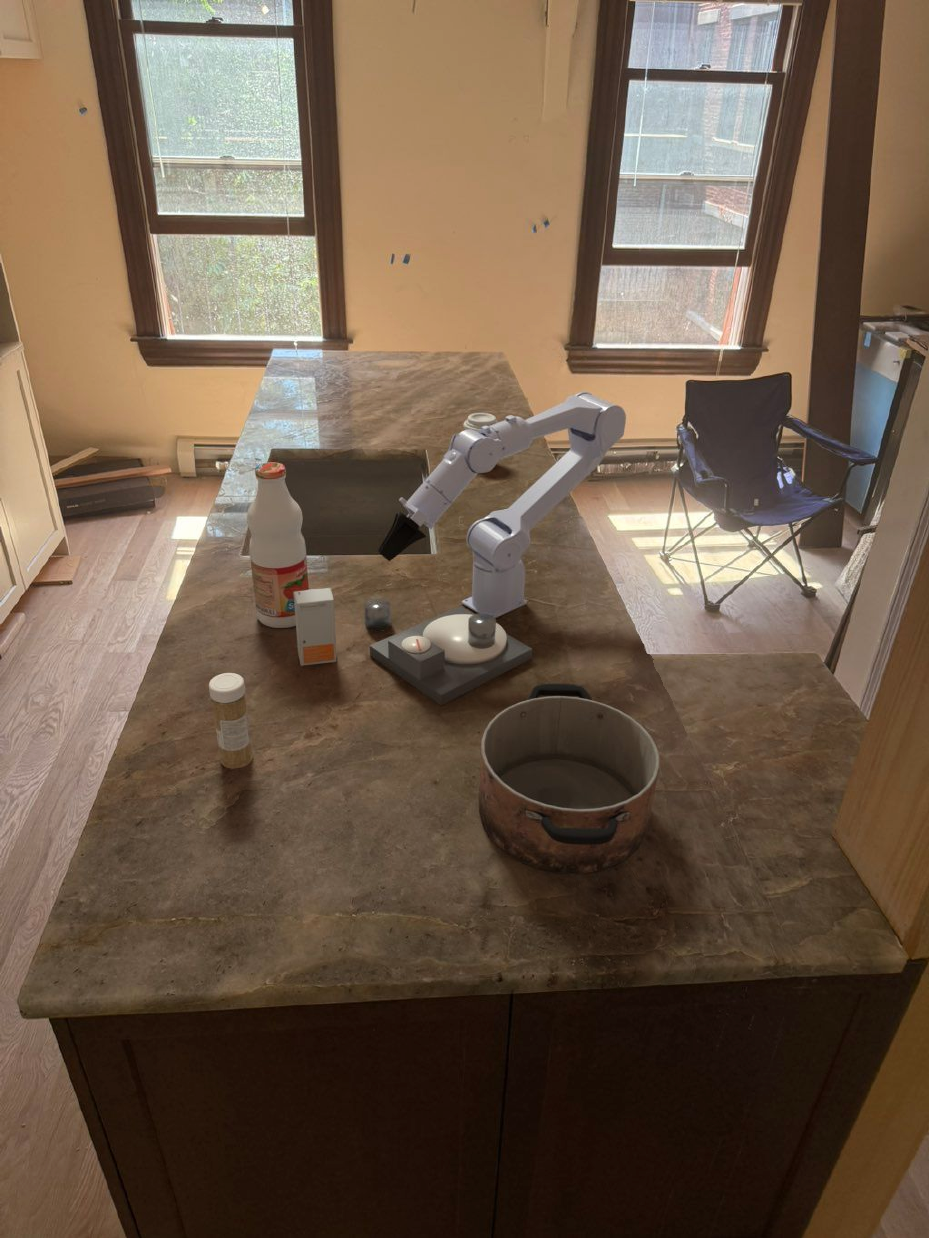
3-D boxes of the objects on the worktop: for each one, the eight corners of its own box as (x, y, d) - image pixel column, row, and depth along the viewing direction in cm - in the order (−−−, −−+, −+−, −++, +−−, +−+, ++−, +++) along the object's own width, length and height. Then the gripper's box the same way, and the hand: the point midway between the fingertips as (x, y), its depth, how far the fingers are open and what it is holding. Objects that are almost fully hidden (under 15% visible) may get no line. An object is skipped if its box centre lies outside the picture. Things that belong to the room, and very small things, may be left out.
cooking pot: (476, 737, 128) (479, 677, 123) (628, 740, 129) (637, 681, 123) (480, 900, 103) (483, 834, 97) (669, 903, 103) (683, 837, 98)
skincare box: (300, 667, 142) (295, 603, 136) (297, 653, 146) (292, 590, 139) (338, 662, 144) (334, 599, 137) (334, 648, 147) (330, 586, 141)
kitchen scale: (459, 615, 157) (460, 586, 154) (531, 658, 146) (533, 628, 143) (370, 655, 146) (369, 624, 143) (441, 705, 134) (441, 673, 131)
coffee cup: (456, 459, 223) (457, 413, 217) (488, 455, 227) (490, 409, 220) (471, 472, 216) (473, 425, 210) (504, 467, 220) (507, 420, 213)
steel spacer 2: (481, 631, 148) (482, 610, 145) (500, 642, 145) (501, 621, 143) (462, 640, 145) (462, 619, 143) (480, 651, 142) (481, 630, 140)
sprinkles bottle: (222, 749, 124) (211, 671, 117) (255, 748, 125) (245, 670, 118) (218, 771, 120) (205, 692, 113) (251, 769, 121) (241, 690, 114)
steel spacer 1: (380, 615, 157) (379, 596, 155) (395, 625, 154) (395, 606, 152) (359, 623, 154) (359, 604, 152) (375, 634, 151) (374, 614, 149)
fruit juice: (265, 600, 160) (250, 455, 146) (316, 604, 159) (306, 458, 145) (250, 627, 152) (232, 476, 137) (303, 631, 151) (291, 480, 137)
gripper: (415, 478, 149) (364, 538, 149) (422, 474, 135) (365, 541, 135) (447, 506, 150) (395, 565, 150) (456, 504, 136) (399, 570, 136)
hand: (383, 556), depth 143 cm, fingers open, 7 cm apart
